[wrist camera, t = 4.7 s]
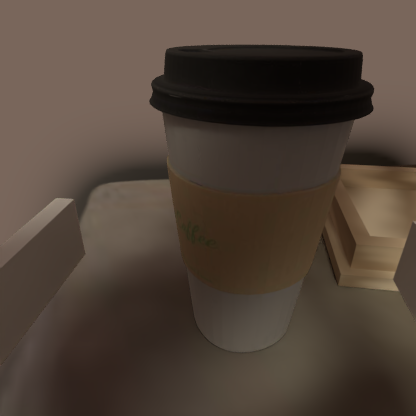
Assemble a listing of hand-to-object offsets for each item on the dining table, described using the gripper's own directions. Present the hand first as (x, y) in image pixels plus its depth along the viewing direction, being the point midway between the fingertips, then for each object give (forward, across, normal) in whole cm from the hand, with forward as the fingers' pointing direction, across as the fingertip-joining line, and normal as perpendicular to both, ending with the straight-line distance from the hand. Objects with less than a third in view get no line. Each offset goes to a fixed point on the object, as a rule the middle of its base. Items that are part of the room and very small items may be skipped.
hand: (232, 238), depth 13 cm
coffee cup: (+4, +1, -8) cm, 10 cm away
